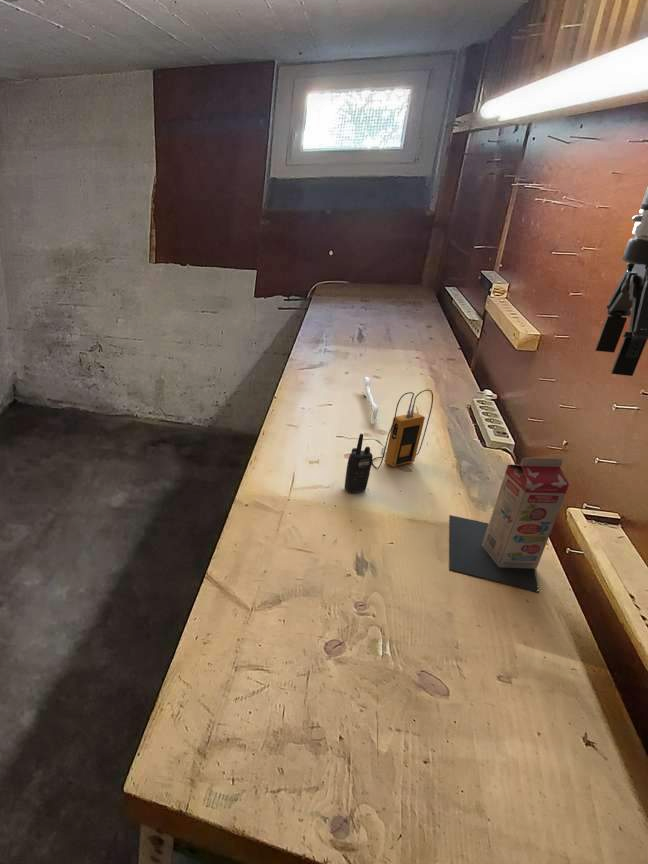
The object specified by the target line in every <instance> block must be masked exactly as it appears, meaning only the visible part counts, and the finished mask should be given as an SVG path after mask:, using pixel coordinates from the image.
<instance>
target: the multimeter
mask: <svg viewBox="0 0 648 864" xmlns="http://www.w3.org/2000/svg"><path fill="white" fill-rule="evenodd" d="M426 391H428V392H430V393H431V403H430V409H429V413H428V417H427V421H426V425H425V428H424V423H425V419H426V416H424V415H422V414H420V413H417V412H415V406H416V405H415V404H416V399H417V397H419V395H420V394H422V393H424V392H426ZM408 394H409V395H410V394H412V396H411V399H410V403H409V407H408V410H407V413H406V414H403V415H402V414H401V415H397V412H398V407H399V404H400V402H401V400H402V398H403V397H404V396H406V395H408ZM414 396H415V393H414V392H411V391H410V392H409V391H408V392H405V393H404V394H402V395H401V396H400V398H399V399H398V402H397V404H396V407H395V413H394V417H393V418H392V423H391V426H390V429H389V431H388V434H387V438H386V441H385V445H384V446H385V447H384V446H382V448H381V450H382V451H381V452H382V456H377V457H374V458H372V464H371V466H372V467H374V468H375V469H377V470H378V469H380V467H381V466H382V463H383V460H384V463H386V464H387V465H389V466H390V467H392V468H396V467H398V466H402V465H407V464H412V463H414V462H415V461H416V456H418V455H419V454H420V451H421V448H422V445H423V444H424V443H423V442H424V439H425V436H426V432H427V429H428V425H429V421H430V417H431V413H432V410H433V404H434V393H433V391H432V390H431V389H424V390H421V391H420V392H419V393H417V394H416V396H415V397H414ZM413 399H414V400H413ZM412 402H413V404H412ZM423 429H424V432H423V434H422V431H423ZM421 435H423V436H422V438H421ZM420 440H421V443H420ZM419 444H420V445H419ZM376 459H381V460H380V464H379V466H378V467H377V466H375V464H374V463H373V462H374V460H376Z"/></svg>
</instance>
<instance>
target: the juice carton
mask: <svg viewBox="0 0 648 864" xmlns="http://www.w3.org/2000/svg"><path fill="white" fill-rule="evenodd" d="M563 461H564V458H559V457H557V458H556V457H521V460H520V463H519V464H507V466H506V470H505V473H504V476H503V479H502V482H501V485H500V488H499V491H498V495H497V498H496V501H495V504H494V507H493V509H492V513H491V516H490V519H489V521H488V523H489V525H488V528H487V531H486V534H485V537H484V540H483V543H482V546H483V548H484V549H485V550H486V552H487V553H488V554H489V555H490V557H491V558H492V559H493V560H494V562H495V563H496V564H497V566H498V567H504V568H530V569H535V570H536V569H538V566H539V564H540V561H541V558H542V555H543V554H544V551H545V548H546V545H547V543H548V540H549V538H550V536H551V532H552V530H553V527H554V525H555V522H556V520H557V517H558V514H559V512H560V510H561V507H562V504H563V502H564V499H565V496H566V494H567V491H568V488H569V486H570V483H569V481H568V479H567V477H566V476H565V473H564V472H563V470H562V468H561V467H562V466H563V465H562V464H563Z"/></svg>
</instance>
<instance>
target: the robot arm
mask: <svg viewBox="0 0 648 864" xmlns="http://www.w3.org/2000/svg"><path fill="white" fill-rule="evenodd" d="M646 187H647V188H646V190H645V193H644V195H643V199H642V202H641V205H640V208H639V211H638V215H633V216H632V218H631V222H632V223H634V224H633V228H632V231H631V234H632V235H633V237H631V238H630V239H628V240H627V243H626V246H625V248H624V252H623V255H622V258H621V259H622V261H623V262H624V263H627V264H626V267H625V270H624V273H623V274H622V277H621V279H620V280H619V282H618V284H617V286H616V288H615V290H614V292H613V293H612V295H611V298H610V299H609V300H608V301H609V302H608V303H607V305H606V310H607V316H606V319H605V321H604V324H603V327H602V330H601V333H600V335H599V338H598V341H597V343H596V346H595V349H594V350H595V352H604V353H615V351H616V350H617V346H618V344H619V341H620V338H621V335H622V338H623V340H622V342H621V345H620V347H619V350H618V353H617V355H616V359H615V361H614V364H613V366H612V369H611V371H610V373H611V375H618V376H629V377H633V376H634V374H635V371H636V368H637V366H638V364H639V361H640V359H641V356H642V354H643V351H644V349H645V346H646V343H647V341H648V186H646ZM627 317H630V318H629V319H630V321H629V327H628V331H625V332H624V333H623V330H624V329H625V328H624V327H625V325H626V322H627V320H628V318H627ZM622 333H623V334H622Z"/></svg>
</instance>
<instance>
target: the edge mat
mask: <svg viewBox="0 0 648 864" xmlns="http://www.w3.org/2000/svg"><path fill="white" fill-rule="evenodd" d="M448 525H449V531H448V532H449V534H448V535H449V540H448V541H449V542H448V543H449V545H448V547H449V548H448V549H449V551H448V553H449V554H448V559H449V561H448V569H449V571H452V572H455V573H459V574H463V575H467V576H470V577H476V578H480V579H482V580H487V579H488V580H487V581H490V580H491V582H494V581H495V583H498V584H502V585H506V586H510V587H514V588H518V589H521V588H522V589H523V590H525V589H526V591H529V590H531V591H530V592H533V591H535V592H534V593H537V592H539V593H540V590H539V585H538V579H537V575H535V574H536V569H530V568H504V567H498V566H497V564H496V563H495V562H494V560H493V559H492V558H491V557H490V555H489V554H488V553H487V552H486V550H485V549H484V548H483V546H482V543H483V540H484V537H485V534H486V531H487V528H488V525H489V522H485V521H479V520H476V519H475V520H474V519H470V518H465V517H461V516H456V515H451V514H449V524H448ZM537 586H538V587H537ZM522 589H521V590H522ZM537 590H539V591H537ZM536 591H537V592H536Z"/></svg>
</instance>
